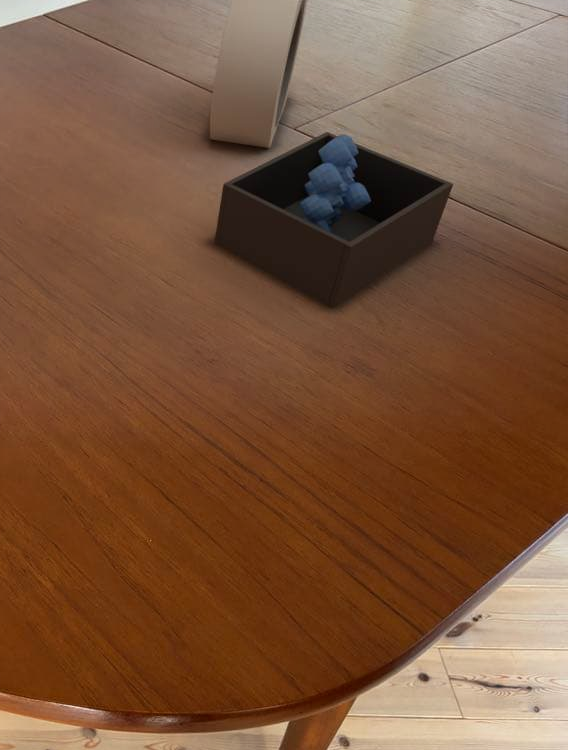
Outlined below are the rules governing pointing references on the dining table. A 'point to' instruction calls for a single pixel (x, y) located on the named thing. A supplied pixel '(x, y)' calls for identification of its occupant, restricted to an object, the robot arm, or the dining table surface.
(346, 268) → the basket
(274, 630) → the dining table surface
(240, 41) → the alarm clock
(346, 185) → the grapes
